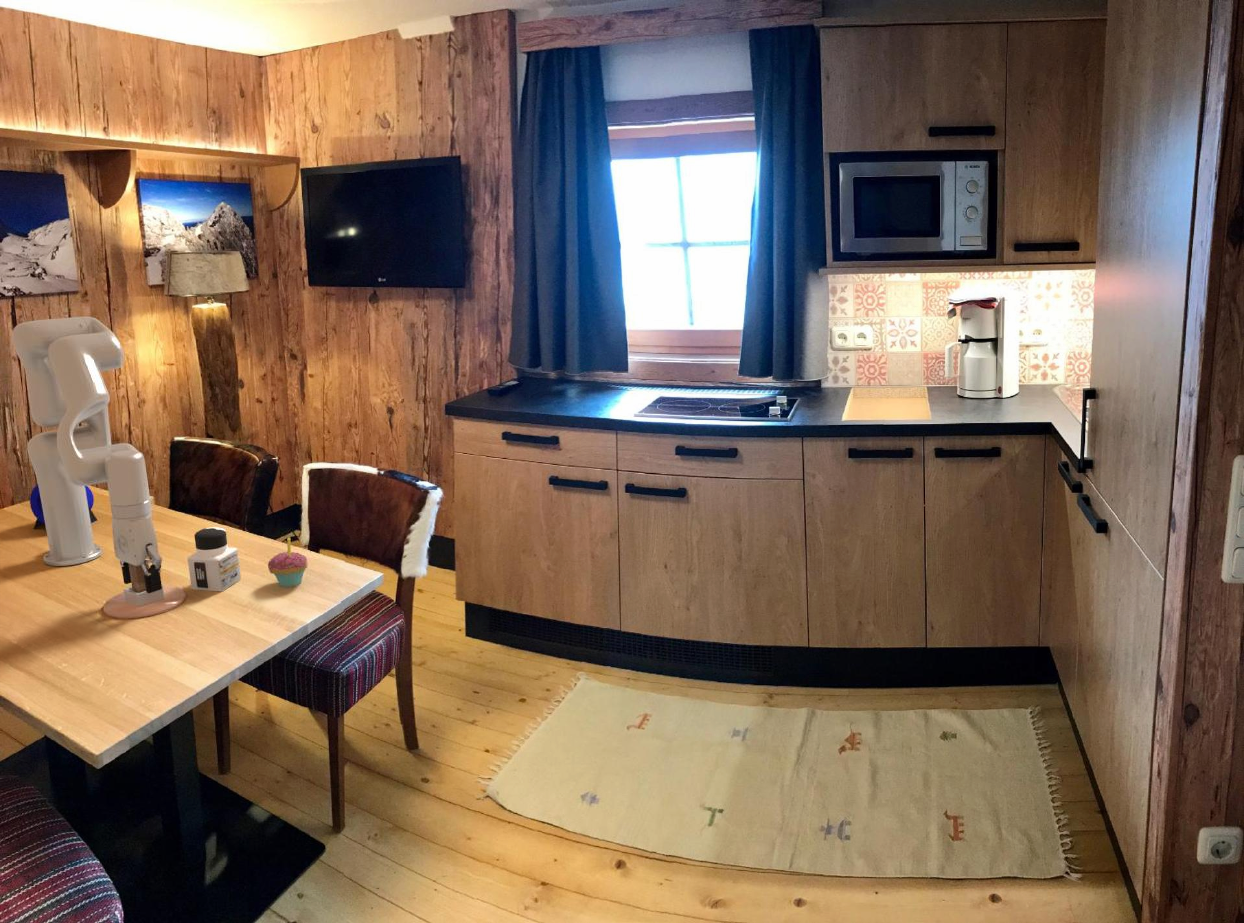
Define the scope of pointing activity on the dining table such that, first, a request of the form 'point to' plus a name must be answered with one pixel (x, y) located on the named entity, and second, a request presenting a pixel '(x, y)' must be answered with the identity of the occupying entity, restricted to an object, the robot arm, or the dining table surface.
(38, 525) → the alarm clock
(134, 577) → the wooden square post
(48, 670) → the dining table surface
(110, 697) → the dining table surface
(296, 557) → the cupcake
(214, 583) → the container
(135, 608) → the clip base
